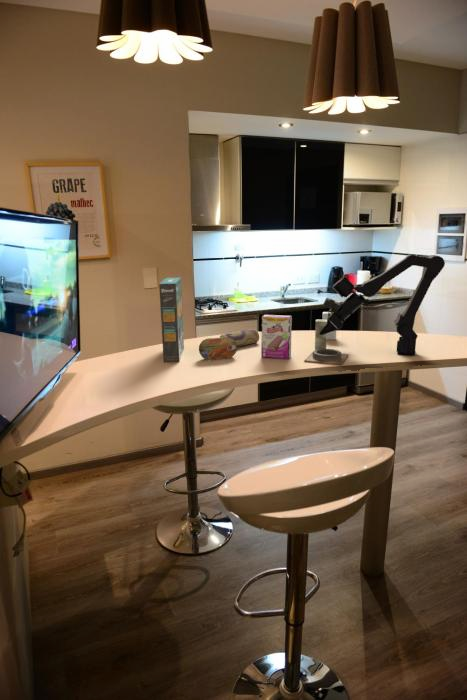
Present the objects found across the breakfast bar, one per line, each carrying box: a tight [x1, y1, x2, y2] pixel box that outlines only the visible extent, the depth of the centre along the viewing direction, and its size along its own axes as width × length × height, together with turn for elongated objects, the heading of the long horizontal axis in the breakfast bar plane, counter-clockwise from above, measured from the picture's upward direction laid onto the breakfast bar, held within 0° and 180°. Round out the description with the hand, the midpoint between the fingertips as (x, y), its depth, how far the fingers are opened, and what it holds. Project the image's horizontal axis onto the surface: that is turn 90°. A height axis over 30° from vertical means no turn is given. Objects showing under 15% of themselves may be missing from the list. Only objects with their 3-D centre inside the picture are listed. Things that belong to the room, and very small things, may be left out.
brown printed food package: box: [198, 336, 238, 361], centre depth 179 cm, size 15×3×8 cm, turn 105°
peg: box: [314, 318, 328, 350], centre depth 188 cm, size 4×4×12 cm
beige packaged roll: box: [219, 327, 260, 348], centre depth 196 cm, size 26×8×7 cm, turn 129°
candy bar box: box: [260, 314, 293, 360], centre depth 179 cm, size 11×5×16 cm, turn 74°
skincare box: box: [322, 311, 337, 340], centre depth 208 cm, size 6×4×12 cm
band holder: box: [303, 348, 349, 366], centre depth 177 cm, size 14×14×3 cm
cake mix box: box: [158, 277, 185, 363], centre depth 183 cm, size 22×6×30 cm, turn 1°
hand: (320, 331), depth 188 cm, fingers open, 9 cm apart
